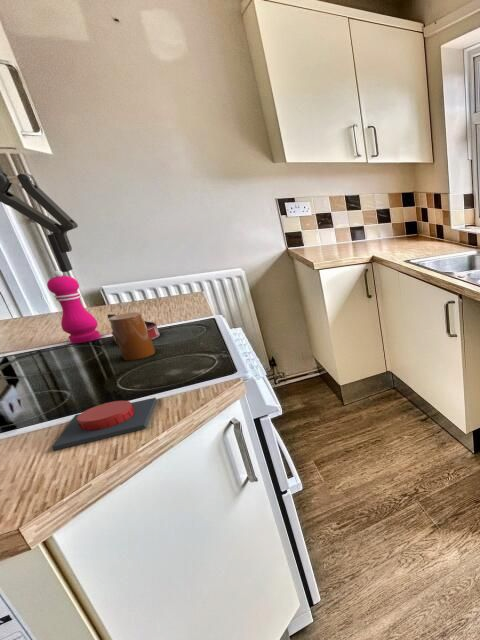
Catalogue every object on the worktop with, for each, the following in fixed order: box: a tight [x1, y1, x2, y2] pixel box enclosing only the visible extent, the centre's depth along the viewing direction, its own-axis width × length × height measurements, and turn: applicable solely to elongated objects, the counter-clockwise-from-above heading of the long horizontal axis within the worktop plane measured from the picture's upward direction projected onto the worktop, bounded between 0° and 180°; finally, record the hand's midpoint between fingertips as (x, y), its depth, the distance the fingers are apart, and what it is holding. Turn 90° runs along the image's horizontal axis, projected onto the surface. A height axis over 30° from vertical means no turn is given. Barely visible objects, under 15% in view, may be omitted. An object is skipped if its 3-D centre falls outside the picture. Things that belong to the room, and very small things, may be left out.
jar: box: [108, 312, 156, 361], centre depth 106 cm, size 6×6×11 cm
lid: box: [77, 400, 135, 431], centre depth 76 cm, size 7×7×2 cm
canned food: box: [106, 313, 161, 345], centre depth 119 cm, size 11×10×10 cm
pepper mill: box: [46, 270, 102, 344], centre depth 117 cm, size 7×7×20 cm
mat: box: [51, 397, 158, 451], centre depth 77 cm, size 12×12×1 cm
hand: (14, 275), depth 74 cm, fingers open, 13 cm apart
